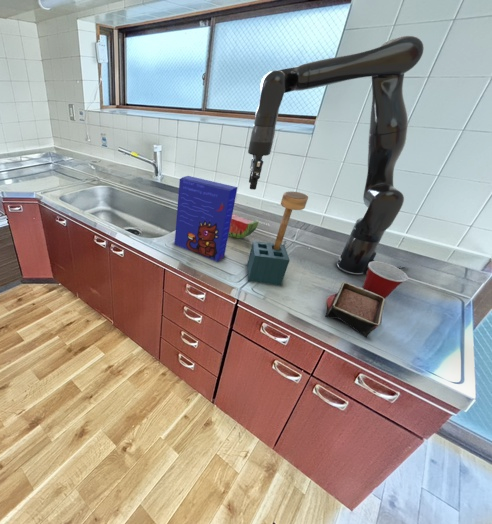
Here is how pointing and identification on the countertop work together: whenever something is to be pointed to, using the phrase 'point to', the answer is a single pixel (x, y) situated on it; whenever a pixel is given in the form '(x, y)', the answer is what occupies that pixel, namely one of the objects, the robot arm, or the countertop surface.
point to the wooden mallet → (289, 212)
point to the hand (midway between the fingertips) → (252, 185)
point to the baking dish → (356, 308)
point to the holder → (267, 263)
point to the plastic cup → (383, 278)
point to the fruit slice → (241, 227)
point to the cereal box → (204, 216)
